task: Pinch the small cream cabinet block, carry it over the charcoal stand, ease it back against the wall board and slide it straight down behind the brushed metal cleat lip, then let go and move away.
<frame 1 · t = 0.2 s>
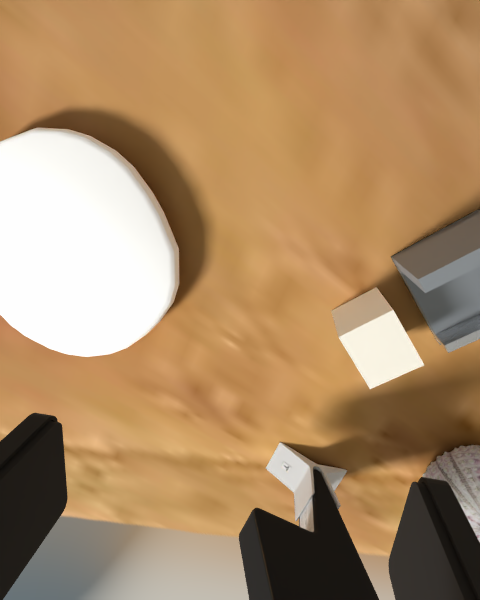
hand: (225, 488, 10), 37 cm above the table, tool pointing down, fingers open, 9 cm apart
award: (303, 467, 54), on the table
plate: (81, 245, 48), on the table
sea urchin shell: (465, 475, 52), on the table
cabinet block: (366, 322, 46), on the table
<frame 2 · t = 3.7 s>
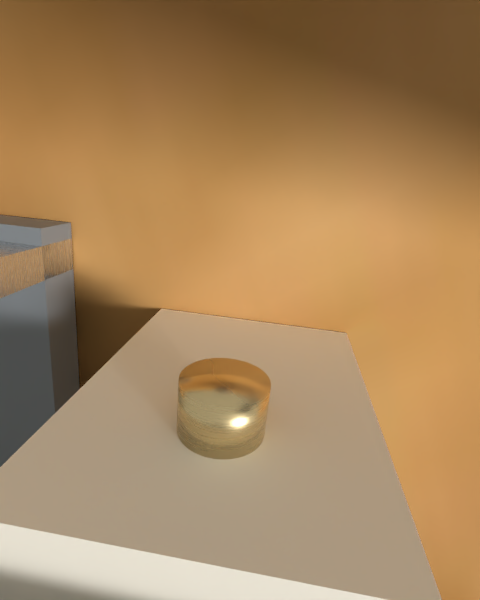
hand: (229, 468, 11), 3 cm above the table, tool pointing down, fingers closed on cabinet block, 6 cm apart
cabinet block: (241, 412, 13), on the table, touching gripper
when the fingers open (5 cm above the table, at t = 11.2 s): cabinet block drops 1 cm, resting on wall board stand.
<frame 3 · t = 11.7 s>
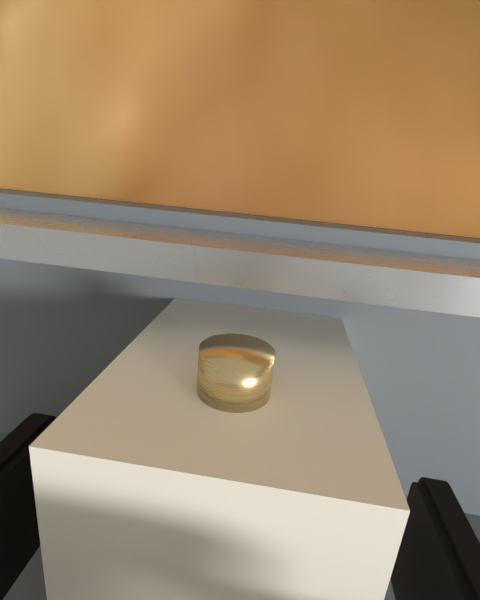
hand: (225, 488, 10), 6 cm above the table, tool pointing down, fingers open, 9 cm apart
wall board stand: (251, 361, 16), on the table
cabinet block: (247, 393, 14), point 1 cm above the table, touching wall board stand
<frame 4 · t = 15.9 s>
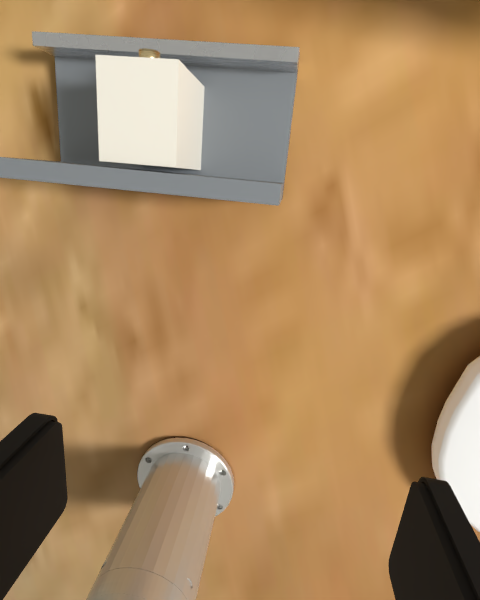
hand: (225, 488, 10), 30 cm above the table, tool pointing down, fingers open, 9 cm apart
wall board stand: (175, 122, 36), on the table
cabinet block: (170, 127, 34), point 1 cm above the table, touching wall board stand
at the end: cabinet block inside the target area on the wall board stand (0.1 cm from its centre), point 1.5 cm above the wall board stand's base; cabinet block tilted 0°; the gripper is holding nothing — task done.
